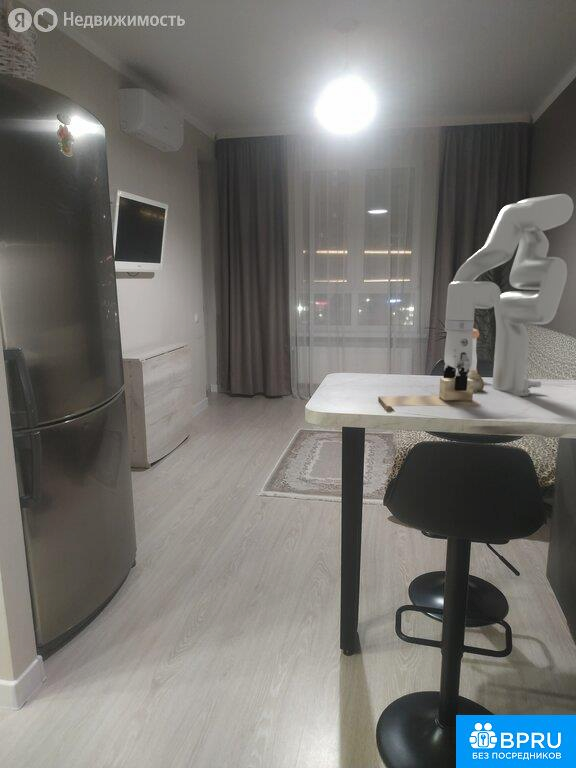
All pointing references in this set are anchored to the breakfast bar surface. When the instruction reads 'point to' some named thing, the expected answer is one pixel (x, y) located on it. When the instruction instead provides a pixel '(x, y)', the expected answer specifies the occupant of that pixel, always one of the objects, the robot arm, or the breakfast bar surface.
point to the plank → (416, 401)
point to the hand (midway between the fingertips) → (454, 387)
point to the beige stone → (476, 381)
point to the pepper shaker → (473, 351)
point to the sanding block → (451, 394)
